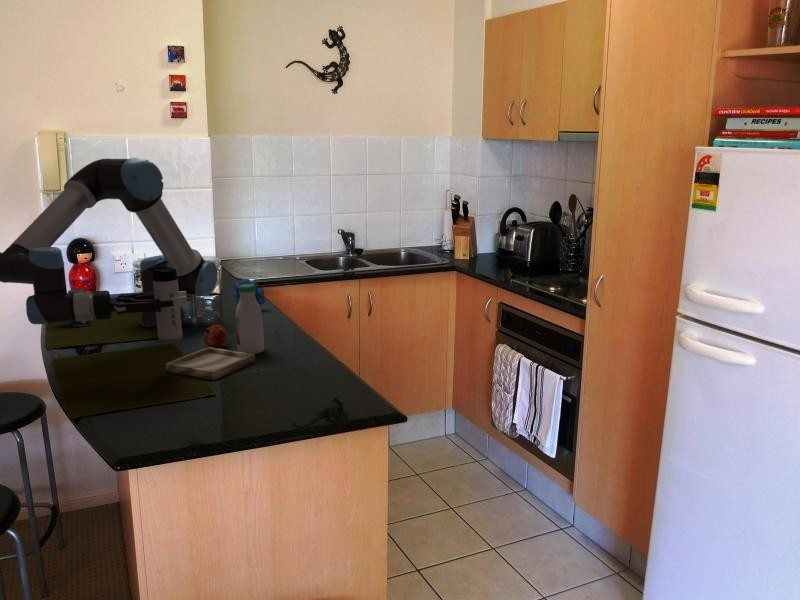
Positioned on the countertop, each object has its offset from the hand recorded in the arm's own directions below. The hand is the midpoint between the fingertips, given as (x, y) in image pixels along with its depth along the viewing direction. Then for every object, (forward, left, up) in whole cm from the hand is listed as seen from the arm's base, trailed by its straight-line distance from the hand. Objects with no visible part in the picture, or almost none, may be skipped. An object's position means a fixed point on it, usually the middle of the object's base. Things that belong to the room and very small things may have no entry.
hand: (186, 298), depth 192 cm
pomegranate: (-8, +19, -20) cm, 29 cm away
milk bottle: (+4, +20, -20) cm, 29 cm away
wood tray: (+3, +4, -20) cm, 20 cm away
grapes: (-27, +58, -20) cm, 67 cm away
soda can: (-69, +20, -20) cm, 74 cm away
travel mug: (-4, -4, -11) cm, 12 cm away
